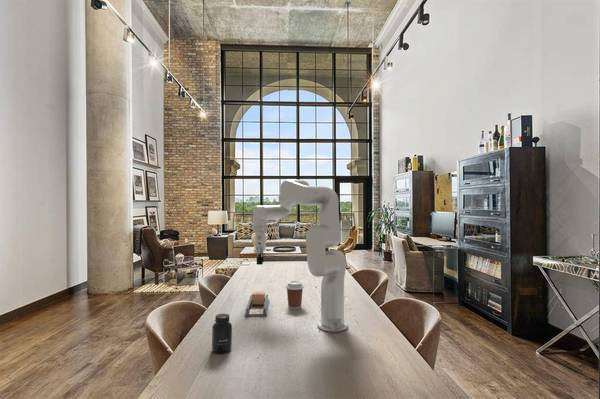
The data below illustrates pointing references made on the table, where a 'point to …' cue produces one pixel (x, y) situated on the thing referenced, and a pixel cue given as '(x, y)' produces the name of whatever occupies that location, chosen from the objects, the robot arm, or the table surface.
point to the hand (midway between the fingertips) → (260, 263)
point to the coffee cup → (294, 294)
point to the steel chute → (257, 308)
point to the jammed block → (258, 297)
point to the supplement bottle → (221, 334)
